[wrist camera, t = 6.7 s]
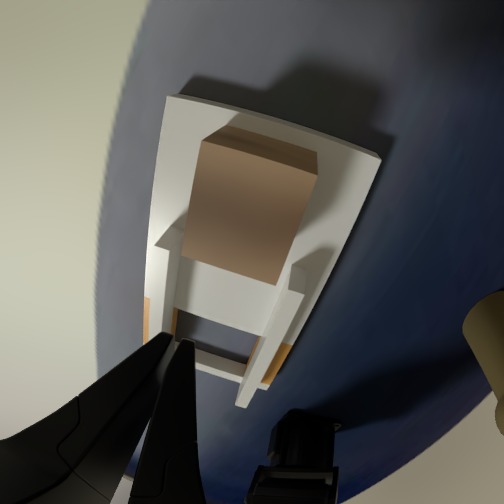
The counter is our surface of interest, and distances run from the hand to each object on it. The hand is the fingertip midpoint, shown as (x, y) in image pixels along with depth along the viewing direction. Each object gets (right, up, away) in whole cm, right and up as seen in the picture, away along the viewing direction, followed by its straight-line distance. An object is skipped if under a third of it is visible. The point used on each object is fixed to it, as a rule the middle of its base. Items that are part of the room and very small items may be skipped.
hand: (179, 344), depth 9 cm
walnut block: (+2, +6, +8) cm, 11 cm away
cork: (+23, -3, +12) cm, 26 cm away
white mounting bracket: (+1, +1, +14) cm, 14 cm away
